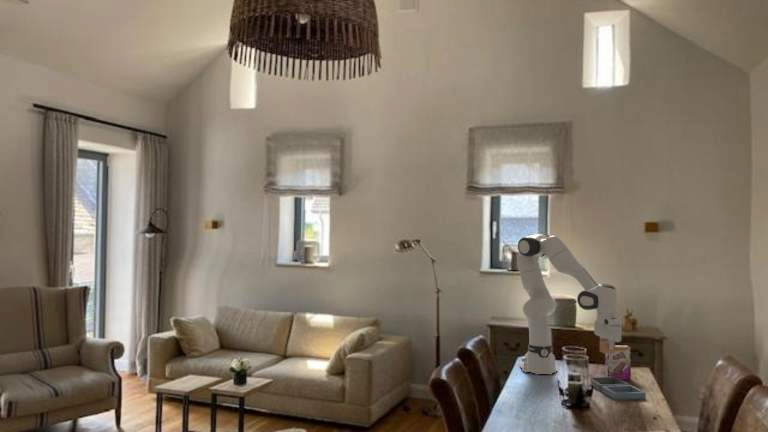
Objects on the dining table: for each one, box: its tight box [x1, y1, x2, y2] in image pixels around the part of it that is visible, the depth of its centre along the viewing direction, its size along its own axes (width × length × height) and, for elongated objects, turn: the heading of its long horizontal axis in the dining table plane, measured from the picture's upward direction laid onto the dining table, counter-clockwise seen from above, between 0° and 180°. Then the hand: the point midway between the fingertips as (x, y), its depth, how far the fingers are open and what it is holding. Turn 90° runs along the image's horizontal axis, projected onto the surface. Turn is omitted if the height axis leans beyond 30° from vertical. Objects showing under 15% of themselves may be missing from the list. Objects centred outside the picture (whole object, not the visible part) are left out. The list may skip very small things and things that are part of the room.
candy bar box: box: [604, 344, 632, 381], centre depth 287 cm, size 11×5×16 cm, turn 84°
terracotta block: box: [599, 340, 616, 355], centre depth 273 cm, size 5×5×5 cm
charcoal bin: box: [590, 376, 631, 393], centre depth 273 cm, size 14×14×3 cm
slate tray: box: [601, 384, 646, 401], centre depth 258 cm, size 12×14×3 cm
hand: (607, 348), depth 273 cm, fingers closed on terracotta block, 5 cm apart
